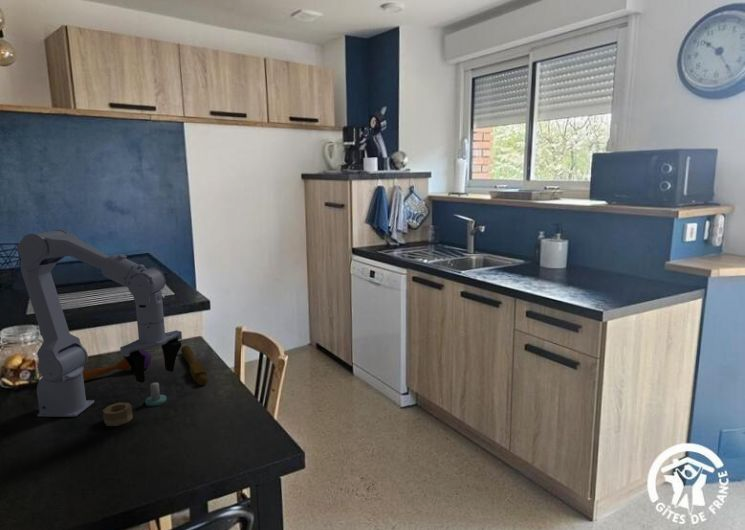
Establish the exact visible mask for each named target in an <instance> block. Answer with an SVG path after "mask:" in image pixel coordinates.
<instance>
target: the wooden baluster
mask: <svg viewBox="0 0 745 530" xmlns="http://www.w3.org/2000/svg"><path fill="white" fill-rule="evenodd" d="M180 350H181V351H180V352H181V354H182V357H184V359H185V361H186V363H188V365H189V373H190V374H191V376H192V379H193V381H194V382H195V383H197V384H198V385H199V386H206V385H207V383H208V380H209V379H208V377H207V376H208V375H207V371H206V368H205V366H204V365H203V364H202V362H201V361H197V359H196V356H195V354H194V352H193V350H192V349H191V347H190V346H189V345H184V346H181V348H180Z"/></svg>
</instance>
